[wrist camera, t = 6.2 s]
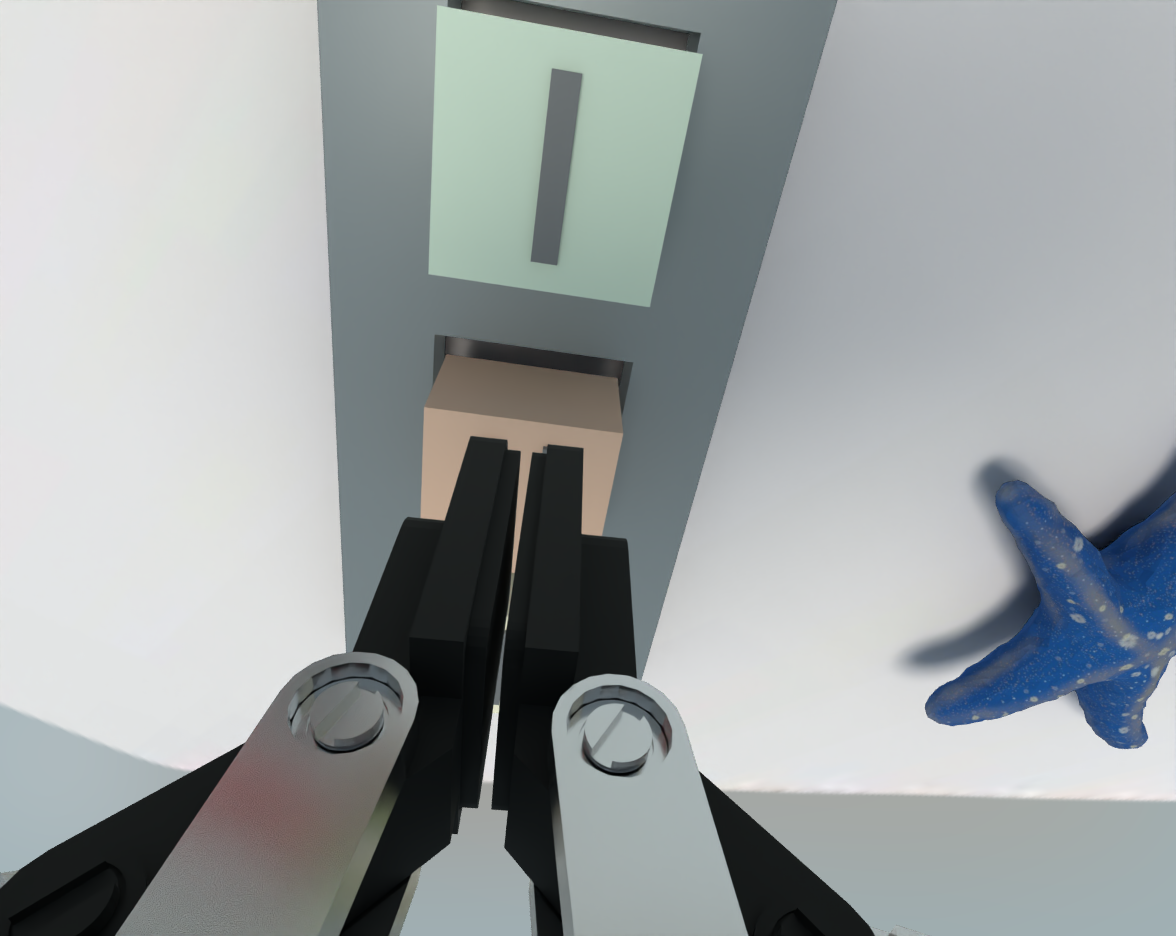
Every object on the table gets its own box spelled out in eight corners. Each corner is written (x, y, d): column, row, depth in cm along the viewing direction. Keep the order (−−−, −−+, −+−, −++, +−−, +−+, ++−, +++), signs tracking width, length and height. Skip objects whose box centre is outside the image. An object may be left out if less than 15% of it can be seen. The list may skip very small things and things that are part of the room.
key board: (813, -4, 21) (840, -9, 19) (629, 672, 37) (632, 711, 34) (341, -96, 20) (312, -112, 17) (361, 644, 35) (347, 683, 33)
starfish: (1207, 705, 39) (1284, 787, 34) (876, 707, 38) (912, 789, 34) (1425, 405, 29) (1570, 469, 24) (978, 407, 28) (1047, 471, 24)
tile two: (617, 378, 24) (623, 436, 21) (591, 514, 27) (592, 585, 24) (446, 354, 24) (422, 410, 20) (439, 495, 27) (417, 566, 23)
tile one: (681, 50, 19) (704, 54, 15) (639, 265, 22) (650, 309, 19) (463, 10, 18) (435, 5, 15) (452, 236, 22) (426, 276, 18)
